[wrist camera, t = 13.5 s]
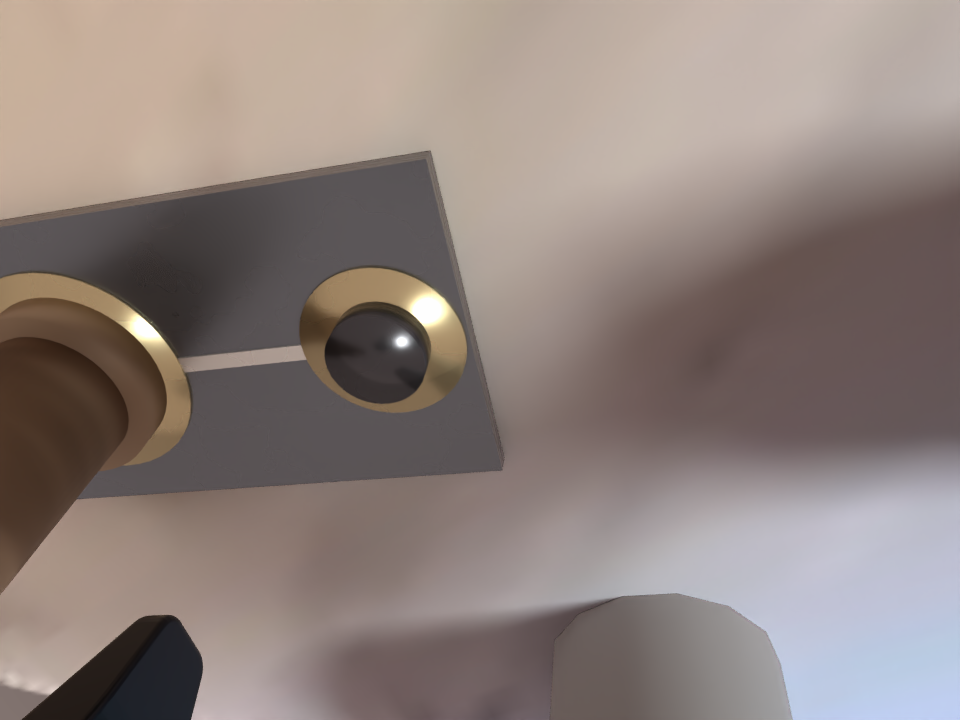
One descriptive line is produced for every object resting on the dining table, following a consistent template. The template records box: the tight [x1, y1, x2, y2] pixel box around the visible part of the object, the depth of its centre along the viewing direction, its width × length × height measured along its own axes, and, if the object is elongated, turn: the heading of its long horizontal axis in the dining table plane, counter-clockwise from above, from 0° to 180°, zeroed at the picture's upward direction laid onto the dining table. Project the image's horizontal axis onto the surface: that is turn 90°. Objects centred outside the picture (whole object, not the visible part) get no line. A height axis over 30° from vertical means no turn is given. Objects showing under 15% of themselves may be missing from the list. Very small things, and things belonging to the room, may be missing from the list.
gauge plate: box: [0, 151, 504, 499], centre depth 23 cm, size 17×10×2 cm, turn 102°
